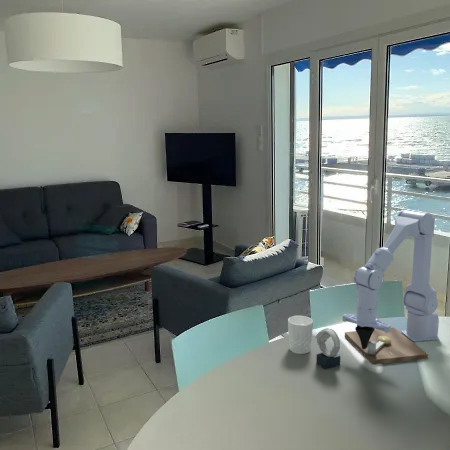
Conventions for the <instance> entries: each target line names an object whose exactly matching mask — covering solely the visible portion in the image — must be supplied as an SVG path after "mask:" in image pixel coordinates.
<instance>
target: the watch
mask: <svg viewBox="0 0 450 450" xmlns="http://www.w3.org/2000/svg"><path fill="white" fill-rule="evenodd" d="M330 337H331V339H332V342H333V347H332V349H328V348H327V346H326V342H327V341H328V339H329V338H330ZM315 339H316V343H317V345H318V348H319V350H320V352H318V353H316V356H315V357H316V362H315V363H316V364H317V365H318V366H319V367H321V368H322V369H324V370H330V369H332V368H336V367H339V366H341V355H340V354H338V353H339V352H340V349H341V342H340V338H339V336H338V334H337V332H336V331H335V330H334V329H332V328H323V329H322V330H320V331H319V332H317V333H316V336H315Z"/></svg>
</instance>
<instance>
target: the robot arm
mask: <svg viewBox="0 0 450 450" xmlns="http://www.w3.org/2000/svg"><path fill="white" fill-rule="evenodd" d="M435 221H436V219H435V217H433V215H432V214H431V213H428V212H421V211H415V210H414V211H413V210H408V209H402V210H400V211H399V212H398V213H397V216H396V217H395V218H394V227H393V229H392V231H391V232H390V234H389V236H388V238H387V240H386V241H385V242H384V245H383V246H382V247H378V248H376V249H375V251H374V252H373V253H372V255H371V256H370V257H369V259H368V261H366V263H365V265H364V266H361V267H359V268H357V269H356V271H355V273H354V276H353V281H354V284H355V289H356V291H357V295H356V298H357V299H356V314H350V313H344V314H343V315H342V322H345V323H346V322H349V323H352V324H355V325H356V326H355V328H354V329H355V330H354V331H356V332H357V333H358V336H359V338H360V341H361V345H362V349H366V348H367V346H368V342H369V340H370V337H371V335H372V333H373V332H374V330H375V329H378V330H382V331H385V333H389V332H390V328H392V327H391V324H388V323H385V322H383V321H381V320H379V319H377V307H378V306H377V305H378V304H377V303H378V289H379V288H380V287H381V285H382V284H383V280H384V276H385V273H386V270H387V269H388V268H389V266H390V264H392V262H393V260H394V255H393V254H394V253H395V252H396V250H397V249H398V248H399V247H400V246H401V244H402V243H403V242H404V241H405V239H406V238H407V237H413V238H414V241H413V254H412V255H413V257H412V258H413V260H412V275H411V276H412V277H411V283H409V284H407V285H406V286H405V288H404V292H403V296H402V303H403V305H404V306H405V310H407V316H406V317H407V318H406V329H404V330H400V333H401V334H403V335H404V336H405V337H407V338H408V339H409V340H410V341H412V342H413V343H415V342H423V341H433V340H440V337H439V323H440V320H439V319H440V318H439V316H438V313H437V311H436V310H437V309H438V306H439V301H438V297H437V290H436V289H434V287H433V286H432V285H431V284H430V279H431V278H430V277H431V276H430V275H431V260H432V247H433V245H432V244H433V237H434V235H435V234H434V233H435V224H436V223H435Z"/></svg>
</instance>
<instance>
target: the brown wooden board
mask: <svg viewBox="0 0 450 450" xmlns="http://www.w3.org/2000/svg"><path fill="white" fill-rule="evenodd" d="M379 336H387V337H389V338H391V343H390V344H384V345H383V346H382V347H381V348H380V349H379V350H377V351H376V354H374V355H371V354H368V353H367V351H368V346H367V348H366V349H362V345H361V341H360V338H359V336H358V333H357V332H356V330H354V331H344V337H345V338H346V340H348V341H349V343H351V344H352V345H353V347H355V348H356V350H358V351H359V352H360V353H361V354H362V355H363V357H364V358H365V359H367V360H368V362H369V363H371V364H372V365H382V364H389V363H390V364H393V363H398V362H399V363H400V362H407V361H408V362H410V361H417V360H418V361H419V360H427V359H428V358H429V357H428V356H429V354H428V353H427V352H426V351H425V350H423V349H422V348H421V347H419V346H418V345H417V344H416V343H415V342H414V341H412V340H411V339H409V338H408V337H407V336H405V335H404V334H403V333H402V332H401V331H399V330H397V329H396V328H395V327H391V328H390V332H389V333H385V331H382V330H378V329H375V330H374V332H373V333H372V335H371V337H370V340H369V341H374V342H376V344H377V343H378V337H379Z"/></svg>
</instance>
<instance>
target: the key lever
mask: <svg viewBox="0 0 450 450" xmlns="http://www.w3.org/2000/svg"><path fill="white" fill-rule="evenodd" d="M390 343H391V338H389V337H387V336H379V337H378V343H377V344H376V342H374V341H369V342H368V351H367V353H368V354H371V355H374V354H376V351H377V350H379V349H380V348H381V347H382V346H383V345H384V344H390Z"/></svg>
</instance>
